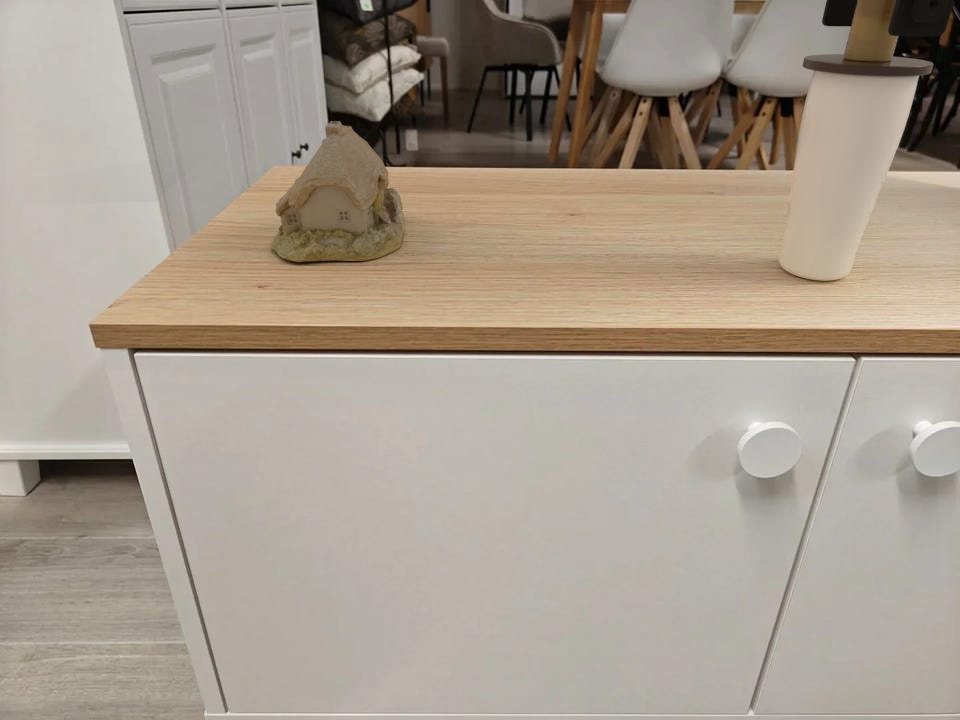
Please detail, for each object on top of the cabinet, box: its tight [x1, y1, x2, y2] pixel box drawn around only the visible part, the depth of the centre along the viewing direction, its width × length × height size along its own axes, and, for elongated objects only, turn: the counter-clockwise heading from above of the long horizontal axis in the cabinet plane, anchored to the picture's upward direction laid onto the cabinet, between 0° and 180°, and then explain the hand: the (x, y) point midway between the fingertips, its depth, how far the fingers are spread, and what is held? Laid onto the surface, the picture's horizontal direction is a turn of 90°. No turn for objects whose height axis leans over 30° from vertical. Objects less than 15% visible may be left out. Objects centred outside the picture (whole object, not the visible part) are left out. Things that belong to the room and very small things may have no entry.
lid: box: [802, 0, 934, 77], centre depth 45 cm, size 8×8×6 cm
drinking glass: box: [778, 70, 920, 282], centre depth 51 cm, size 7×7×15 cm
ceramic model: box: [270, 120, 406, 263], centre depth 58 cm, size 14×11×10 cm
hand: (876, 30), depth 46 cm, fingers open, 9 cm apart
